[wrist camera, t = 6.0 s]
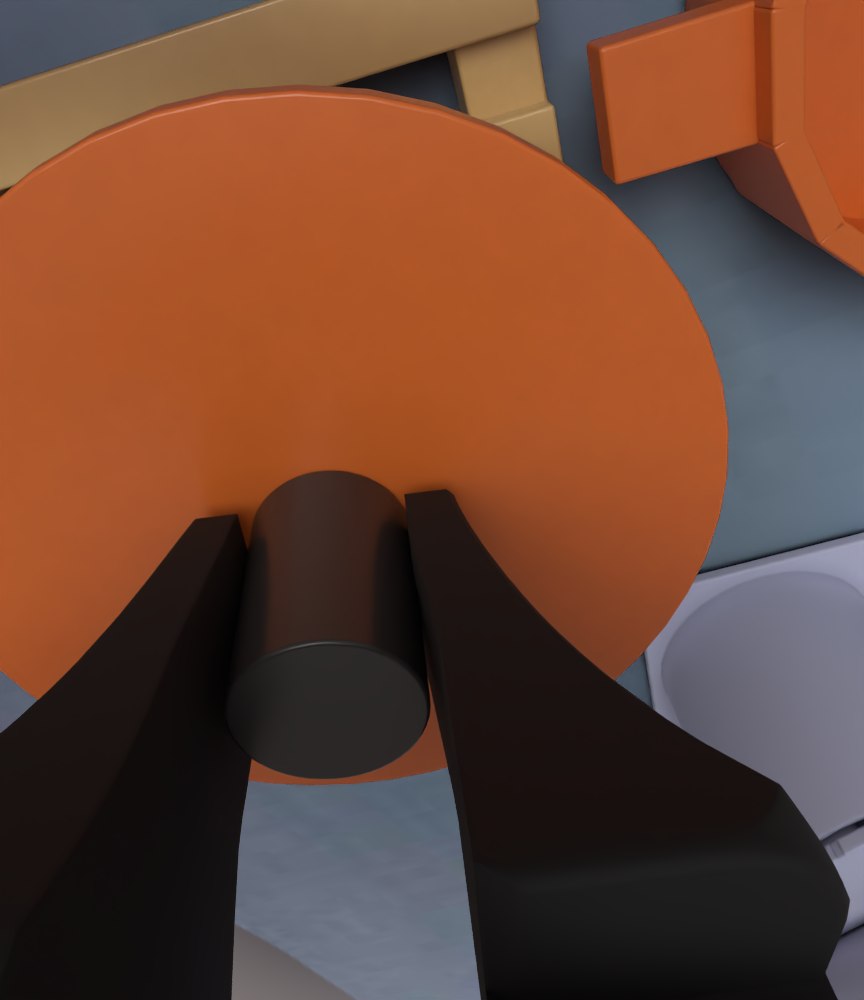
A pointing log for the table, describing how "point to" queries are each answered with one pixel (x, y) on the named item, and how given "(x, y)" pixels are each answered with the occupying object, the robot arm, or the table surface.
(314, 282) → the lid
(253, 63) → the rack
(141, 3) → the table surface
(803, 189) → the pot
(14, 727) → the robot arm
